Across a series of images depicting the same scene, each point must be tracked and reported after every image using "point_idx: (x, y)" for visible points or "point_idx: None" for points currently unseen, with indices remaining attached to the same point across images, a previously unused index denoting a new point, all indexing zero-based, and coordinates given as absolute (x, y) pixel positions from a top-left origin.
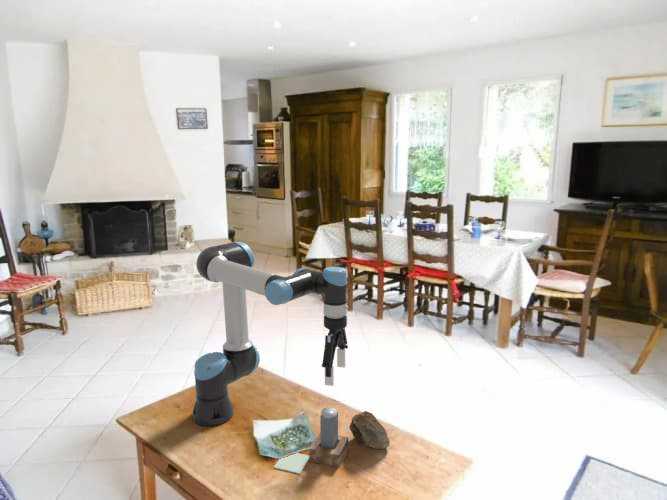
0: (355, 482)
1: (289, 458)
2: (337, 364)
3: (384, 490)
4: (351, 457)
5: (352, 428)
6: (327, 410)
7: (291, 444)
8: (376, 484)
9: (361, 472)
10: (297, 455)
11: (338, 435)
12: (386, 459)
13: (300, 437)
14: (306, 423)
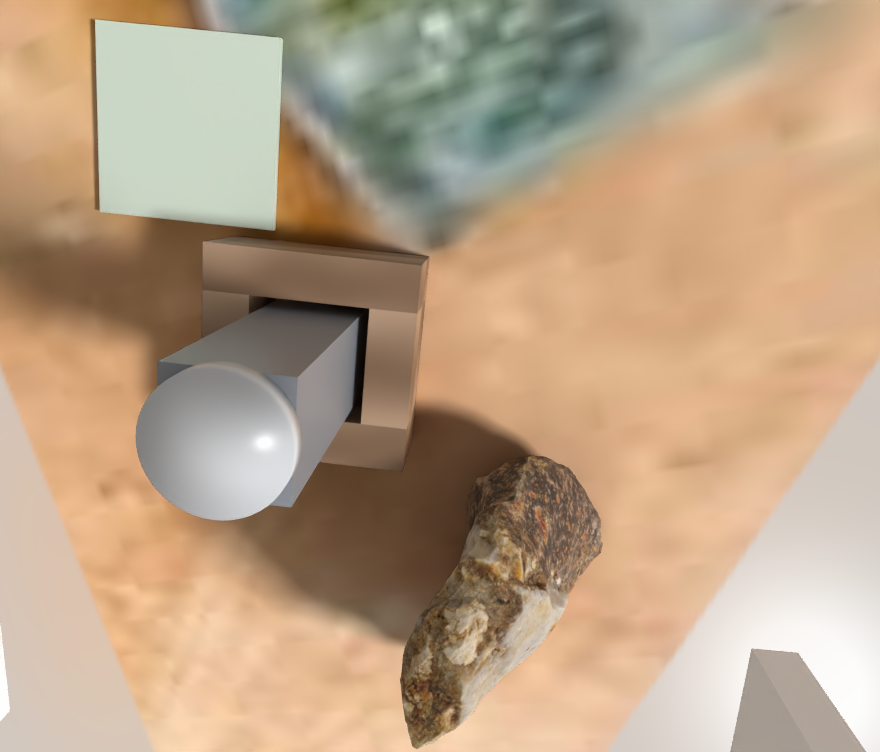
0: (149, 522)
1: (206, 97)
2: (771, 687)
3: (143, 656)
4: (342, 470)
5: (485, 493)
6: (225, 425)
7: (369, 52)
8: (170, 619)
9: (233, 540)
10: (251, 141)
11: (407, 403)
12: (376, 647)
13: (464, 91)
14: (652, 79)
